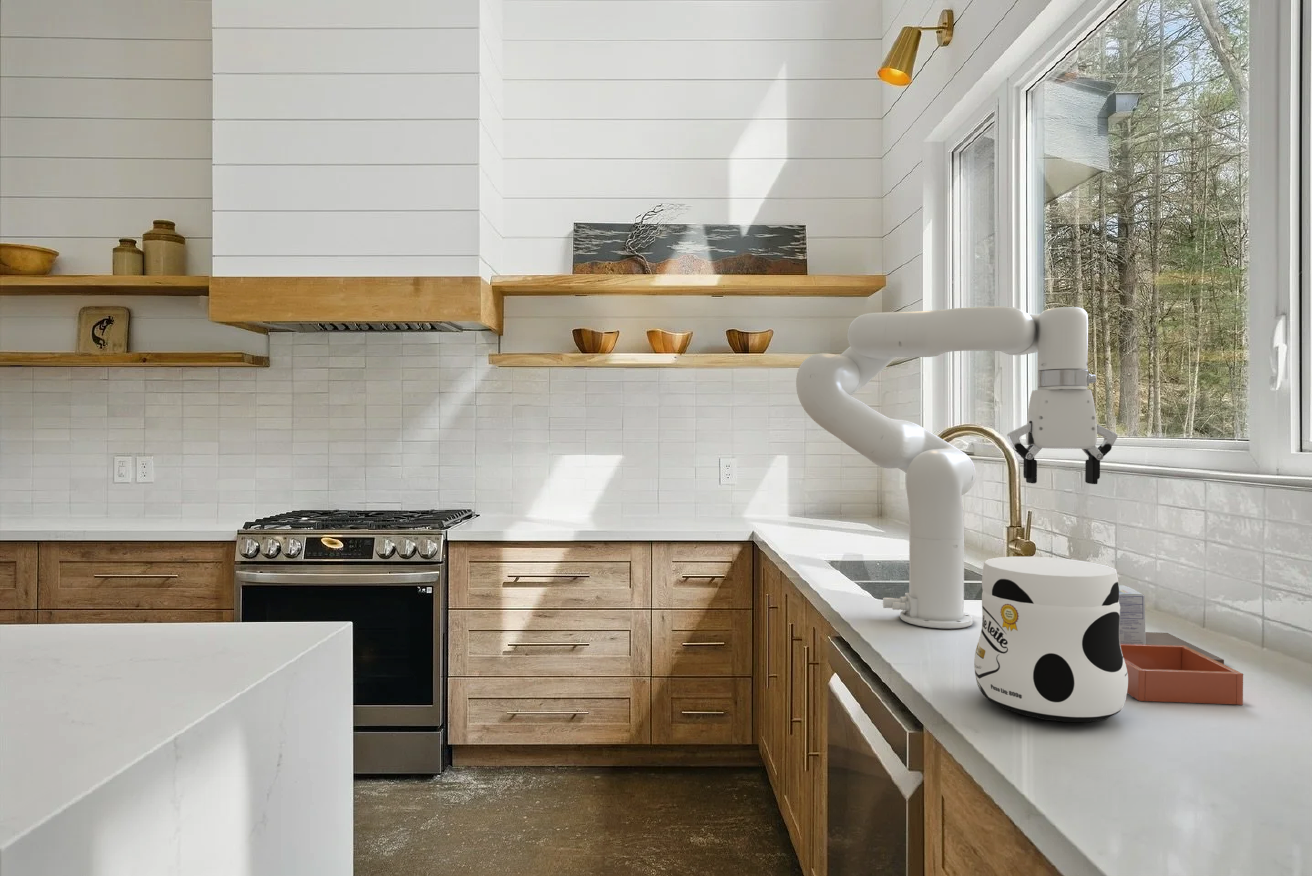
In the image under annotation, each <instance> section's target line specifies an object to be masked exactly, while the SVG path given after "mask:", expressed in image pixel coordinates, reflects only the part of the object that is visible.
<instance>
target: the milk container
mask: <svg viewBox="0 0 1312 876" xmlns="http://www.w3.org/2000/svg"><path fill="white" fill-rule="evenodd" d="M982 566H983V567H982V572H981V573H982V574H981V589H982V593H981V614H982V615H981V616H982V618H981V619H982V620H981V621H982V622H981V631H980V634H979V638H978V642H977V645H976V649H975V652H974V658H973V659H974V660H973V664H974V665H973V667H974V675H975V681H976V685H977V687H978V690H979V691H980V693H981V694H982V695H983V697H985V698H986V699H987V700H988V701H990V702H991V703H993V704H995V705H997V706H998V707H1000V708H1002V709H1005V710H1007V711H1010V712H1013V713H1016V714H1019V715H1023V716H1026V717H1032V718H1036V719H1040V720H1044V721H1045V720H1046V721H1056V722H1063V723H1076V722H1077V723H1090V722H1097V721H1102V720H1103V721H1104V720H1108V719H1109V718H1112V717H1113V716H1116V715H1117V714H1118V713H1120V712H1121V710H1122V709H1123V708H1124V706H1125V703H1126V699H1127V696H1128V693H1127V689H1128V672H1127V668H1126V664H1125V661H1124V657H1123V654H1122V650H1121V646H1120V638H1119V625H1120V604H1119V585H1120V584H1119V575H1118V570H1117V568H1115V567H1113V566H1110V565H1107V564H1101V563H1098V562H1094V561H1086V560H1079V559H1071V558H1062V557H1052V556H1051V557H1049V556H999V557H997V556H996V557H993V558H988V559H986V560H985V561H984V563H983V565H982Z"/></svg>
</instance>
